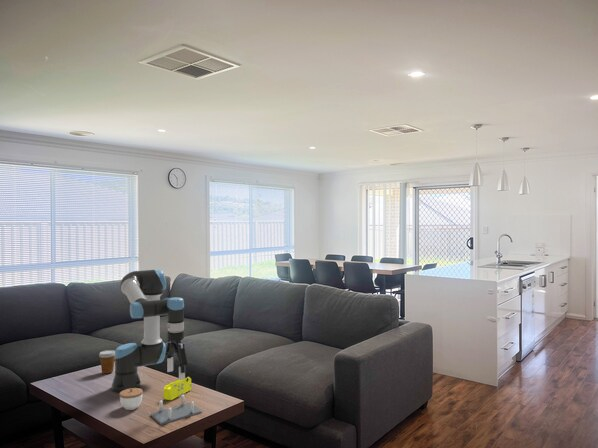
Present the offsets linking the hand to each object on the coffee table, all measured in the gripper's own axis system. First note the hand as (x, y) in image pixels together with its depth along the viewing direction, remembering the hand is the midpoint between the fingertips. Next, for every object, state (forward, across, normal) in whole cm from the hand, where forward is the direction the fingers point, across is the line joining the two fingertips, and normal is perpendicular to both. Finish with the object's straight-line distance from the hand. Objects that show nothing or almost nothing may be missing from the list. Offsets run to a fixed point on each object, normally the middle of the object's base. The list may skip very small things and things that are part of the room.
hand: (176, 375), depth 213 cm
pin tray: (+19, 0, 0) cm, 19 cm away
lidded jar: (+19, -22, -14) cm, 32 cm away
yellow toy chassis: (+19, -22, +10) cm, 31 cm away
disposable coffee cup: (+20, -84, -8) cm, 87 cm away
